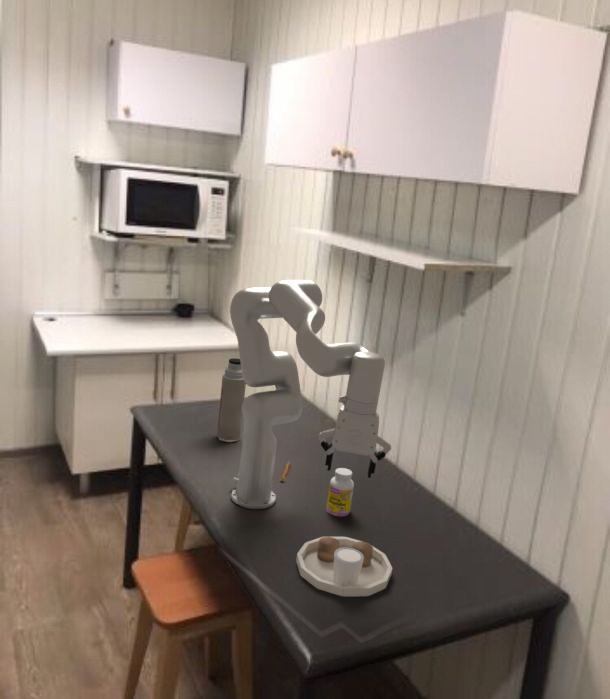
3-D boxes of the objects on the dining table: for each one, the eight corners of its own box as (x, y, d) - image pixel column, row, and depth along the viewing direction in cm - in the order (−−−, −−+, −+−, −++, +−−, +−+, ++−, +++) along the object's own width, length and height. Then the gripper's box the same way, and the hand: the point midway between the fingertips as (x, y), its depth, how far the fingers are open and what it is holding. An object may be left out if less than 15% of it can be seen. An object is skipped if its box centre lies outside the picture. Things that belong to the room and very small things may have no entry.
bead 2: (346, 559, 167) (348, 544, 166) (360, 553, 171) (362, 539, 170) (360, 569, 164) (362, 554, 163) (374, 563, 167) (377, 549, 166)
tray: (278, 562, 164) (279, 551, 164) (344, 538, 179) (345, 528, 178) (341, 611, 149) (343, 599, 148) (408, 581, 163) (410, 570, 162)
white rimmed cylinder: (358, 574, 162) (362, 548, 160) (361, 591, 155) (366, 564, 153) (329, 572, 161) (332, 545, 159) (331, 589, 154) (335, 562, 153)
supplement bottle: (322, 515, 190) (328, 472, 187) (330, 505, 196) (335, 464, 193) (345, 521, 188) (351, 478, 185) (352, 511, 194) (358, 470, 191)
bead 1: (312, 554, 168) (314, 540, 167) (327, 549, 171) (329, 534, 170) (326, 564, 164) (328, 549, 163) (341, 558, 167) (343, 544, 166)
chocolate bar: (292, 468, 219) (293, 461, 218) (286, 483, 207) (287, 477, 207) (284, 466, 219) (285, 460, 219) (277, 482, 208) (278, 475, 207)
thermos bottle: (214, 440, 232) (221, 360, 225) (220, 432, 240) (227, 355, 233) (237, 444, 231) (245, 364, 224) (242, 435, 239) (250, 358, 232)
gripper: (322, 404, 156) (311, 472, 160) (398, 417, 155) (385, 485, 159) (325, 393, 163) (314, 459, 168) (397, 405, 162) (384, 471, 167)
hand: (349, 471), depth 163 cm, fingers open, 9 cm apart
